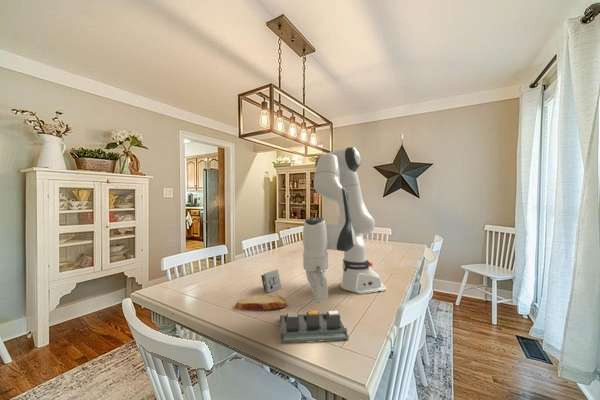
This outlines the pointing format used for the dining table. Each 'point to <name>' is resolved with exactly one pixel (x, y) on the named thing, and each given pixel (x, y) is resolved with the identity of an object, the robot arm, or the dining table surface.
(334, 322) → the breaker
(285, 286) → the dining table surface
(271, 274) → the electrical switch
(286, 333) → the panel
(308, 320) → the breaker mid
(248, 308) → the slice of bread
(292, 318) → the breaker
